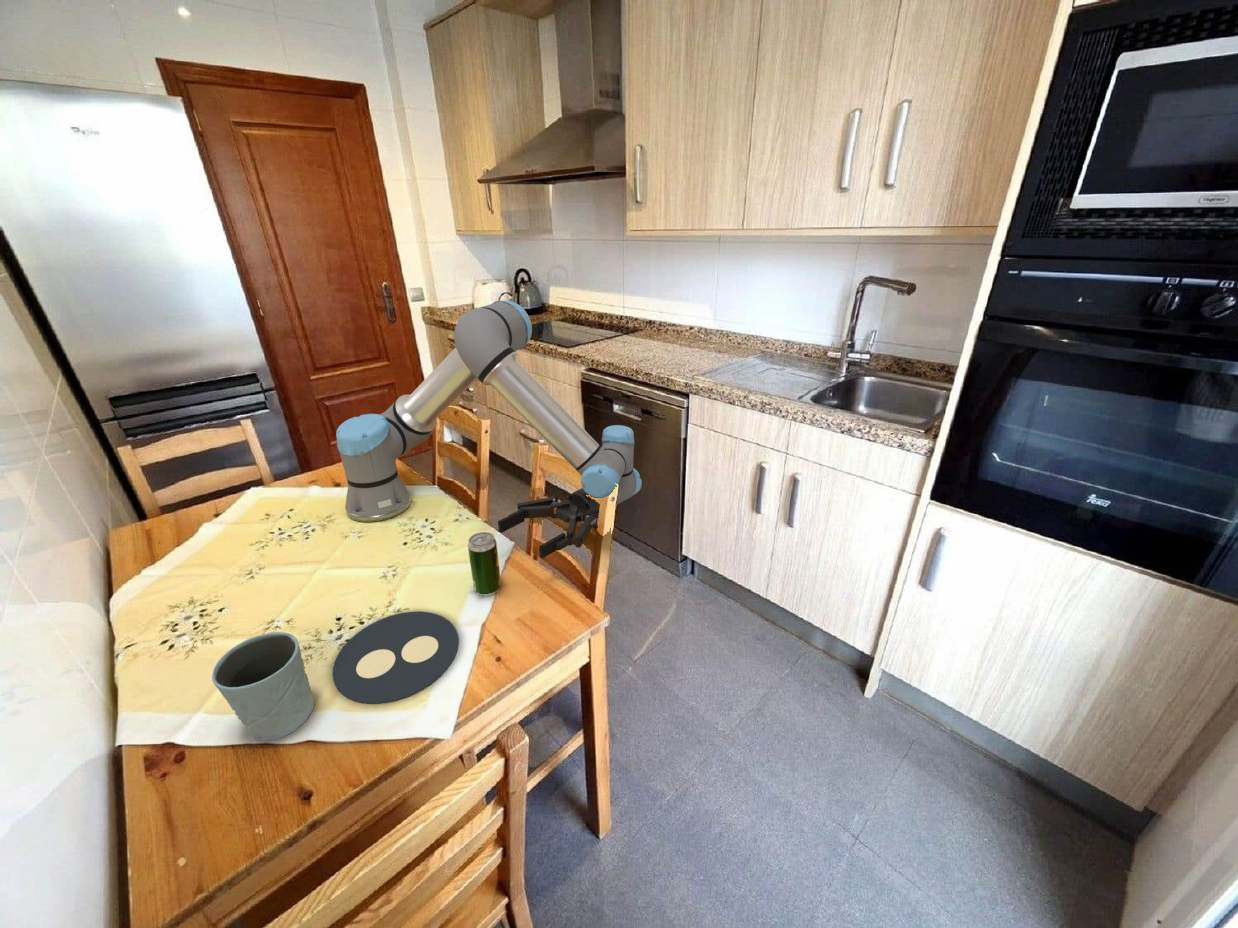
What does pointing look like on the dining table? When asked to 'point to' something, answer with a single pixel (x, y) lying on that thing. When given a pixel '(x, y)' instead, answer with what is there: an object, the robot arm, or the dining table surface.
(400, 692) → the spotted mat
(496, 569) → the beer can
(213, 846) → the dining table surface
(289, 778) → the dining table surface
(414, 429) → the robot arm
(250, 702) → the gray plant pot
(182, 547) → the dining table surface
